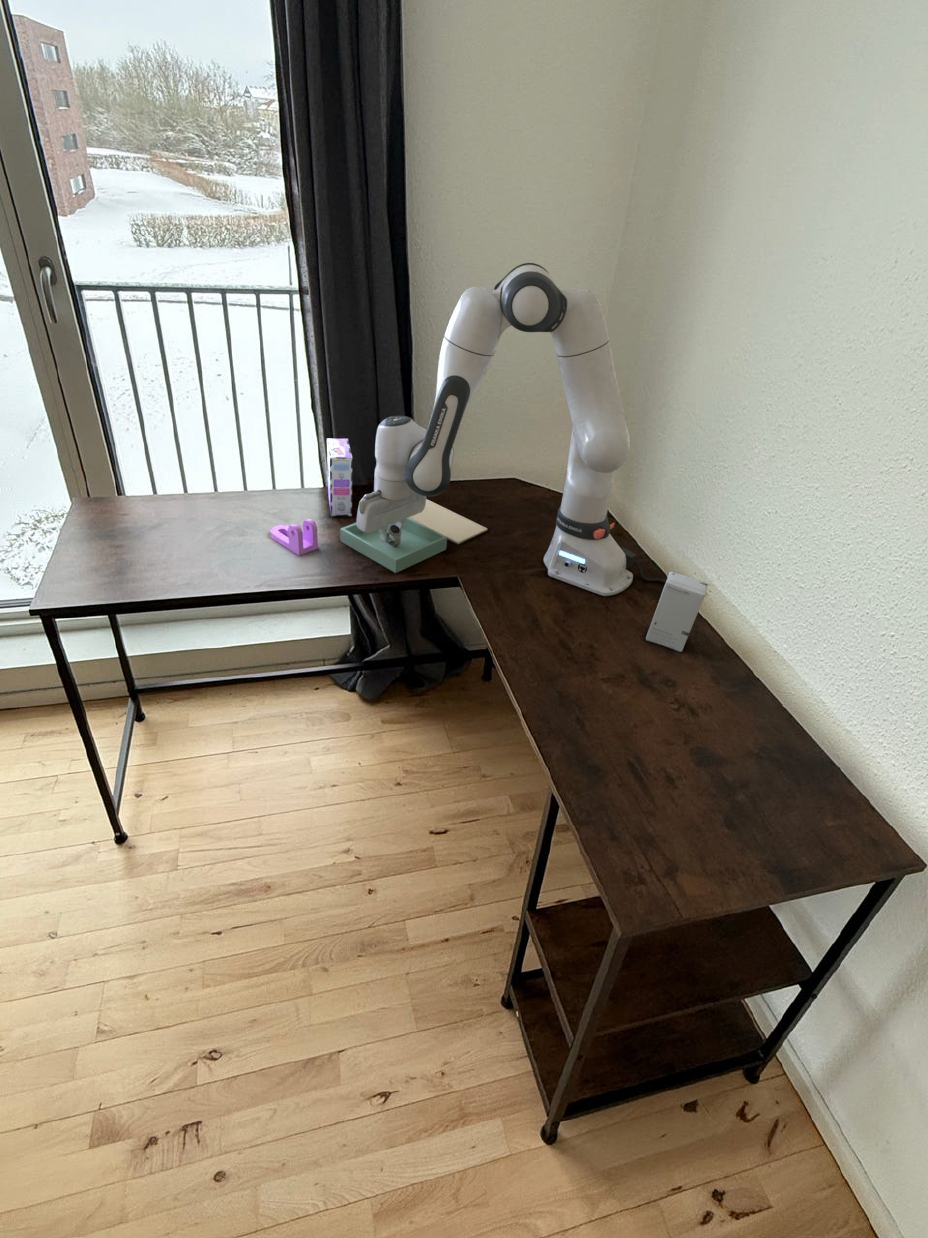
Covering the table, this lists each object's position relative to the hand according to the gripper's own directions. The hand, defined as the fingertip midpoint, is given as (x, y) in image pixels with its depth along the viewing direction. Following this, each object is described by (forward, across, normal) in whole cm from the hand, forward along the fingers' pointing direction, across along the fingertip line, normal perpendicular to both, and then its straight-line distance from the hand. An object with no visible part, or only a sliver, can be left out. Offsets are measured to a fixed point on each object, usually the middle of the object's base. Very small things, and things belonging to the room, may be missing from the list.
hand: (390, 537), depth 166 cm
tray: (+2, 0, -1) cm, 2 cm away
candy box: (+2, +4, +24) cm, 24 cm away
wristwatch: (+2, 0, 0) cm, 2 cm away
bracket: (+2, -18, +16) cm, 24 cm away
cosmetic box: (+2, +17, -68) cm, 70 cm away
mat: (+2, +19, +1) cm, 19 cm away
